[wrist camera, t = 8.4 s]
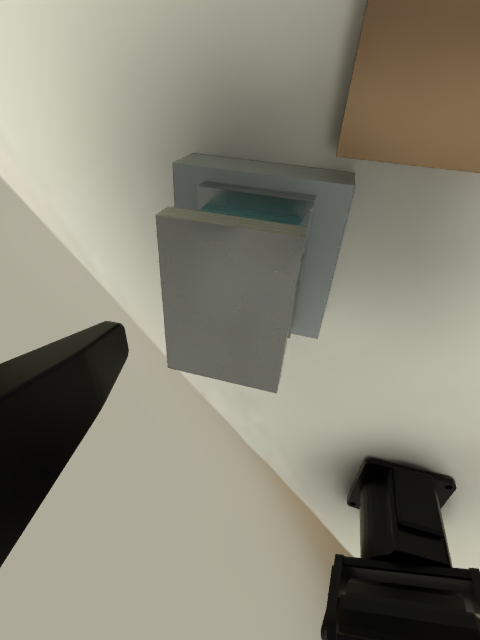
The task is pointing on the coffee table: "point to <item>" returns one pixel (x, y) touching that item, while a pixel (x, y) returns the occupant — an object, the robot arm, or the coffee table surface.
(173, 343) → the housing
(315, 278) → the stand
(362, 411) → the coffee table surface
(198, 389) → the coffee table surface
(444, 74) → the stand
